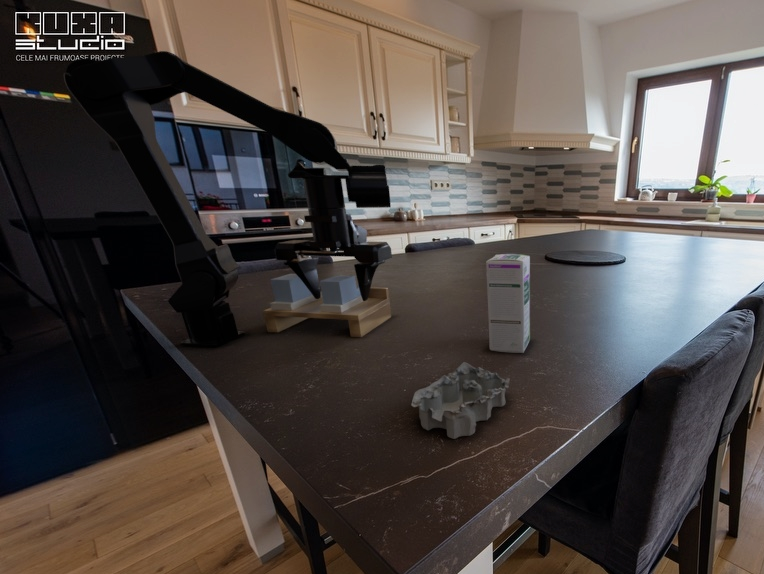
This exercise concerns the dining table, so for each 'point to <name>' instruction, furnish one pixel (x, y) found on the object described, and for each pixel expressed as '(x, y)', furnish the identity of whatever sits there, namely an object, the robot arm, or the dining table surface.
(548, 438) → the dining table surface
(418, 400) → the egg carton
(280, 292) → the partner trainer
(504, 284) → the syrup box
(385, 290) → the shoe shelf
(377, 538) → the dining table surface
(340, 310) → the trainer
